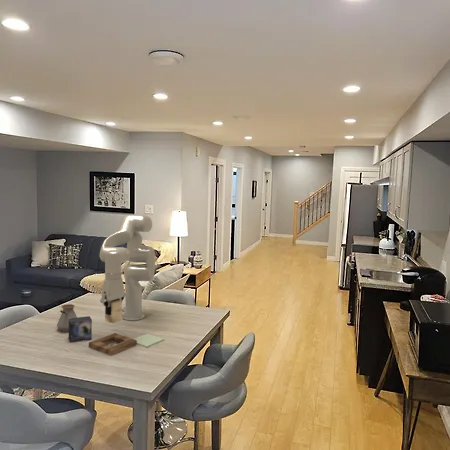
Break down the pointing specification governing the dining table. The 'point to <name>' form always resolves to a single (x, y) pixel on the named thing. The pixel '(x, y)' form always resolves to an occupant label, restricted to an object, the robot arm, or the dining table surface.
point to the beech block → (114, 311)
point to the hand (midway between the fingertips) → (113, 312)
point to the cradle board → (103, 345)
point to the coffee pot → (66, 317)
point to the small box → (80, 329)
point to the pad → (148, 340)
